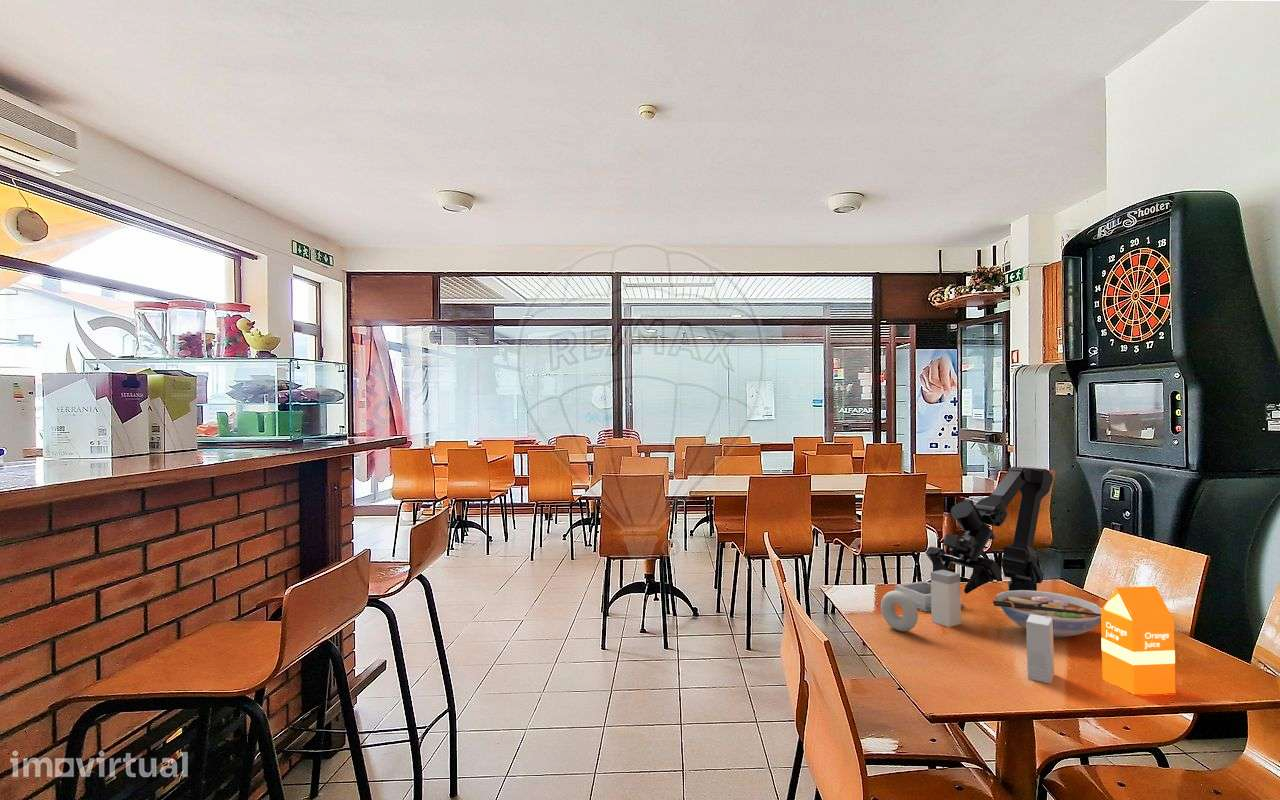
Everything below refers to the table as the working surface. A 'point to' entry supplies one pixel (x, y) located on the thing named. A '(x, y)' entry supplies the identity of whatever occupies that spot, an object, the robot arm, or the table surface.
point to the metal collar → (917, 592)
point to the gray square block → (945, 598)
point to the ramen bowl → (1050, 610)
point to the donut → (907, 606)
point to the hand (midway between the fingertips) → (948, 588)
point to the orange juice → (1138, 641)
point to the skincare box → (1040, 648)
